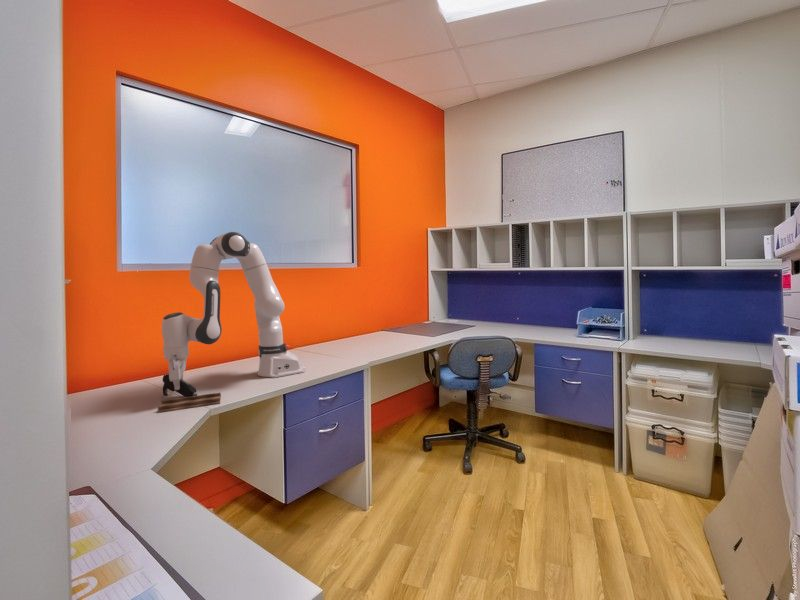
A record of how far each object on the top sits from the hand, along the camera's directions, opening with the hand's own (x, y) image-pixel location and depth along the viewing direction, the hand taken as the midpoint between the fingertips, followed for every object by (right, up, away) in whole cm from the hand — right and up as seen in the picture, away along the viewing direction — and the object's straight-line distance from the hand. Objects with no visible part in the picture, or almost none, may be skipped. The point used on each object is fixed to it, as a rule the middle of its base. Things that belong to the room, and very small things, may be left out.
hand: (179, 386), depth 161 cm
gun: (0, -5, 0) cm, 5 cm away
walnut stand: (+10, -5, -9) cm, 14 cm away
